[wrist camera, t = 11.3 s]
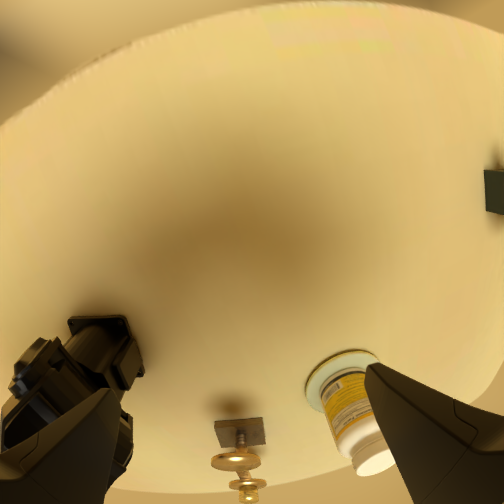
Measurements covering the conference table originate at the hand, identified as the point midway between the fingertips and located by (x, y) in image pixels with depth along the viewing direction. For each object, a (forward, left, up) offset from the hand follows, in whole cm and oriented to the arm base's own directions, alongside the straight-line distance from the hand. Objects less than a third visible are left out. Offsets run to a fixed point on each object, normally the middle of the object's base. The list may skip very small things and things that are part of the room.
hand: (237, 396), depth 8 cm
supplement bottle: (+9, -13, -12) cm, 20 cm away
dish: (+9, -13, -13) cm, 20 cm away
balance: (-2, -18, -13) cm, 23 cm away
